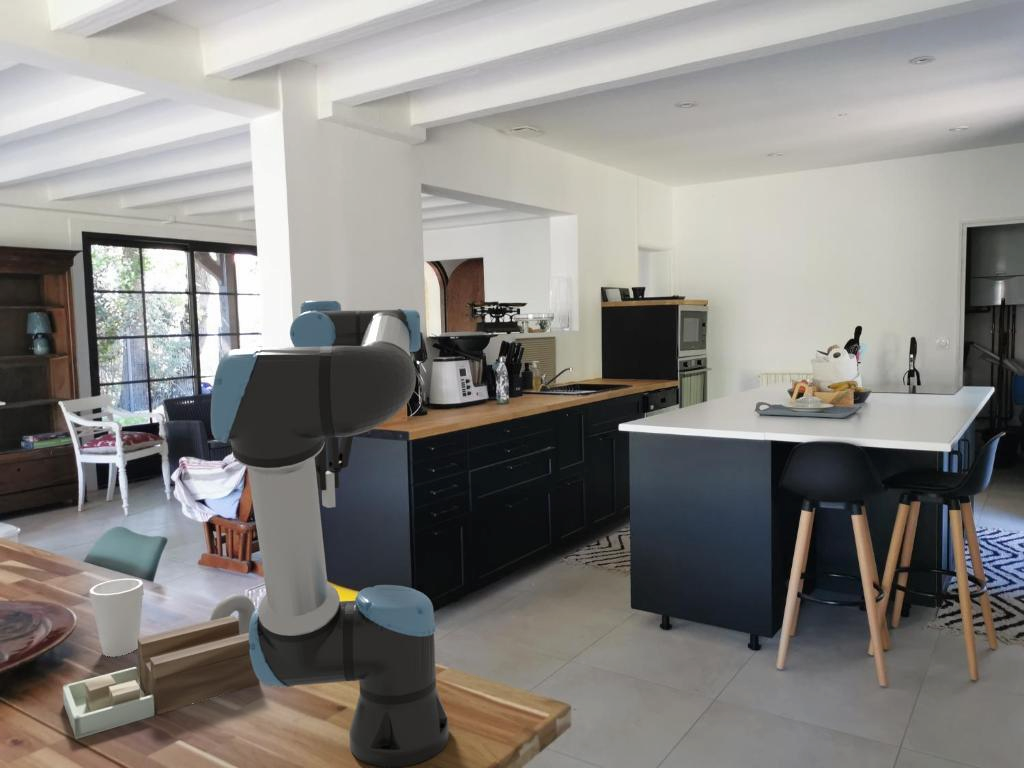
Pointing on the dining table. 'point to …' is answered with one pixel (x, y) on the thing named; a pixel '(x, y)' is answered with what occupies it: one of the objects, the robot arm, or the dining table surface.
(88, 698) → the tan wooden cube
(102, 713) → the tray
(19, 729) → the dining table surface
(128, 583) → the foam cup
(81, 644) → the dining table surface
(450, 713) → the dining table surface
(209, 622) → the slot board
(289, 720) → the dining table surface
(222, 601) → the donut
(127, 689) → the beige wooden cube
